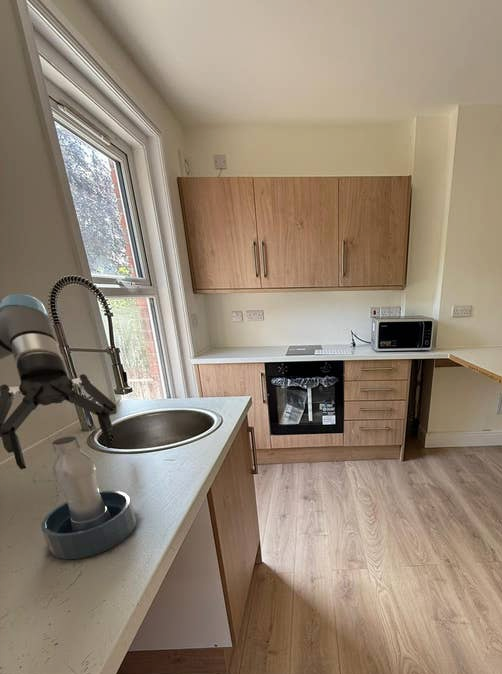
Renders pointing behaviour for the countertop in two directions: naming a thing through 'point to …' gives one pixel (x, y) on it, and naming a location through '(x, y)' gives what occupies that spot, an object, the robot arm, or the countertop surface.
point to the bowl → (94, 539)
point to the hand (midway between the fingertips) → (68, 455)
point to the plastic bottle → (78, 484)
